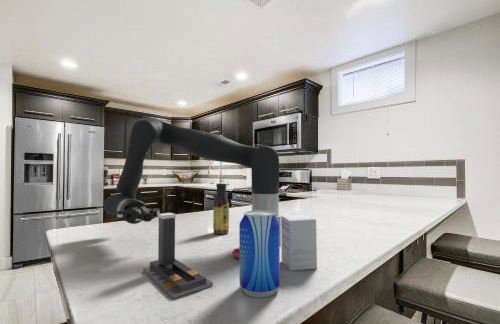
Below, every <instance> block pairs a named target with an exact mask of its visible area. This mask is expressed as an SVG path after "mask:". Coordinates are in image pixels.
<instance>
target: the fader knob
mask: <svg viewBox="0 0 500 324" xmlns="http://www.w3.org/2000/svg"><path fill="white" fill-rule="evenodd" d="M157 218H158V243H157V244H158V251H157V252H158V254H157V255H158V257H157V258H158V259H157V260H158V262H159V263H161V264H162V265H164V266H165V267H167V268H168V269H172V268H173V265H172V264H170V263H173V262H175V259H176V255H175V254H176V213H173V212H165V213H163V212H162V213H159V214H158V217H157Z"/></svg>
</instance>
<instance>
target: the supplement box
mask: <svg viewBox="0 0 500 324" xmlns="http://www.w3.org/2000/svg"><path fill="white" fill-rule="evenodd" d="M280 217H281V262H282V263H283V264H284V265H285V267H287V269H288V270H289V272H290V271H291V272H293V271H294V272H295V271H304V270H314V269H315V270H316V269H318V259H317V258H318V252H317V250H318V248H317V219H316V218H314V217H311V216H309V215H306V214H294V215H293V214H292V215H291V214H290V215H281V216H280Z"/></svg>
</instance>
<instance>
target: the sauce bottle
mask: <svg viewBox="0 0 500 324" xmlns="http://www.w3.org/2000/svg"><path fill="white" fill-rule="evenodd" d="M215 186H216V196H215V197H214V200H213V213H212V214H213V221H212V225H213V226H212V228H213V234H215V235H227V234H228V233H229V229H230V201H229V199H228V196H227V183H216V185H215Z"/></svg>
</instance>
